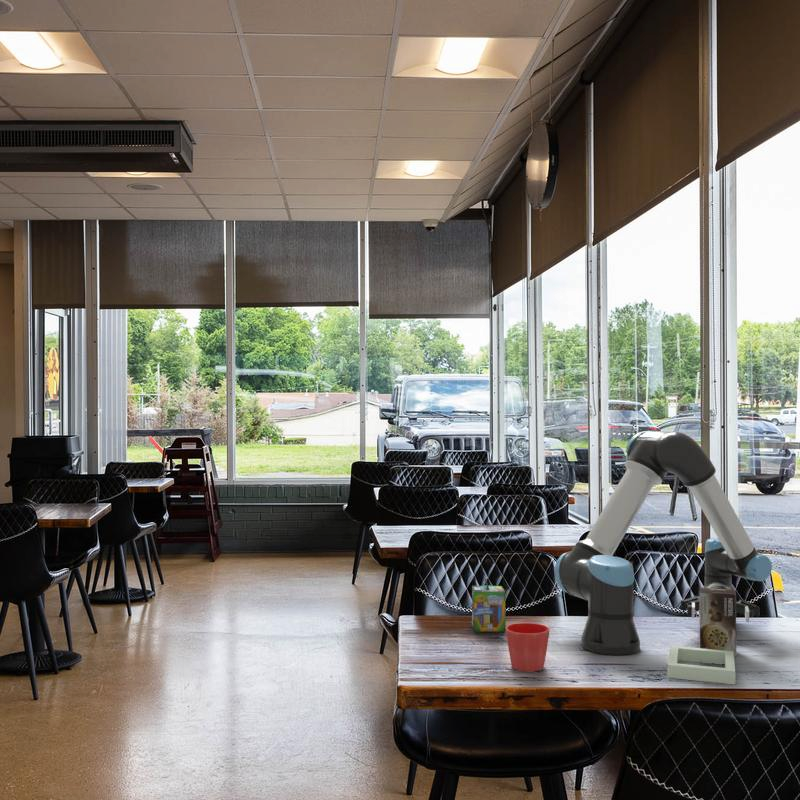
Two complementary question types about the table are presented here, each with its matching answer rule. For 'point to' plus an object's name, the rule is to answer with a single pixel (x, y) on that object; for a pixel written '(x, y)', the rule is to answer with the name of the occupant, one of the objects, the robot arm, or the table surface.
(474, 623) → the chalk box
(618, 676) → the table surface
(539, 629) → the flower pot
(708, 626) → the coffee box
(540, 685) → the table surface
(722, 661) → the sage collar
